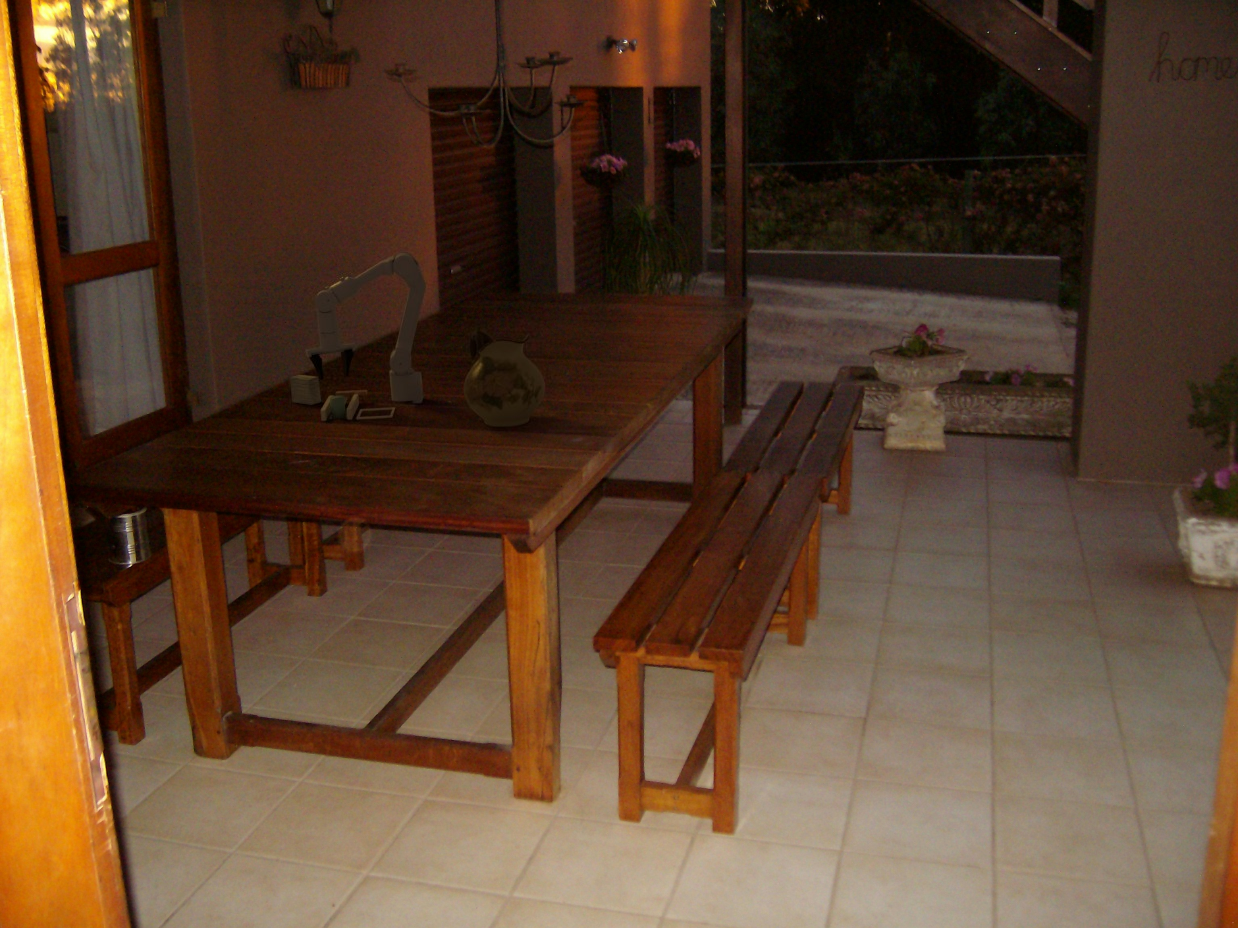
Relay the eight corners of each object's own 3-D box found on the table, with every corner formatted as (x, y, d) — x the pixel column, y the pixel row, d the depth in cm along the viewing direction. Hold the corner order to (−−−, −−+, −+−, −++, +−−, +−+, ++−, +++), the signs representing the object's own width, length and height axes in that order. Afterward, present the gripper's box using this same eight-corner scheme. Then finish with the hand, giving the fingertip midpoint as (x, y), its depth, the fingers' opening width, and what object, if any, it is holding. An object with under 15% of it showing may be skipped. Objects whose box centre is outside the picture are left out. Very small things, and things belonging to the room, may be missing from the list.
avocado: (346, 413, 354) (345, 395, 352) (345, 417, 350) (343, 398, 348) (332, 414, 353) (330, 395, 352) (330, 418, 350) (328, 399, 348)
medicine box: (322, 405, 369) (319, 376, 367) (311, 408, 366) (308, 379, 363) (303, 402, 374) (300, 374, 371) (292, 405, 370) (289, 377, 367)
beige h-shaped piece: (359, 407, 365) (358, 394, 364) (352, 422, 348) (350, 408, 347) (330, 408, 364) (329, 395, 363) (321, 424, 347) (320, 410, 346)
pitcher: (534, 432, 331) (529, 340, 324) (450, 431, 335) (444, 340, 328) (555, 412, 352) (550, 326, 345) (476, 411, 356) (470, 326, 349)
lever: (368, 402, 368) (367, 389, 367) (360, 419, 350) (359, 405, 348) (337, 404, 367) (336, 391, 366) (328, 421, 349) (327, 407, 348)
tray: (395, 412, 358) (395, 407, 357) (392, 420, 348) (392, 415, 348) (360, 413, 357) (360, 409, 357) (356, 422, 348) (356, 417, 347)
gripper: (348, 326, 367) (352, 371, 371) (300, 333, 360) (305, 378, 364) (356, 330, 362) (360, 375, 366) (307, 336, 355) (313, 382, 358)
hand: (333, 377), depth 365 cm, fingers open, 7 cm apart
